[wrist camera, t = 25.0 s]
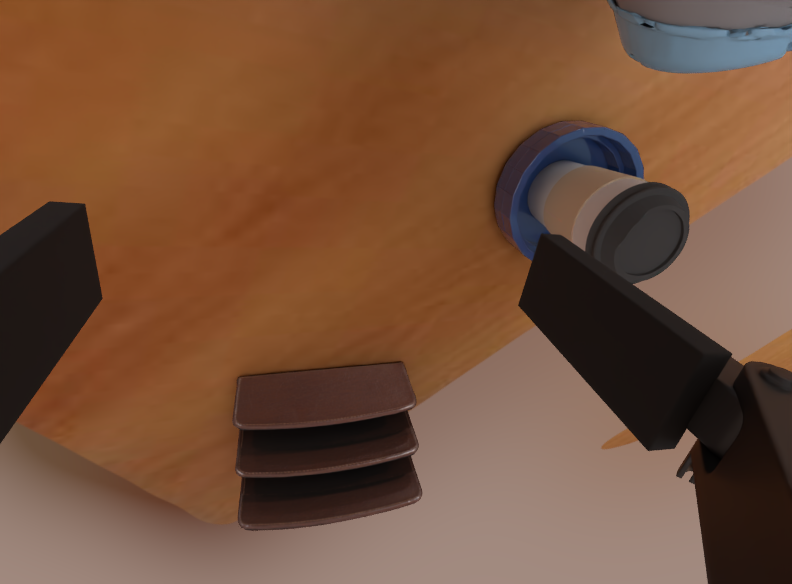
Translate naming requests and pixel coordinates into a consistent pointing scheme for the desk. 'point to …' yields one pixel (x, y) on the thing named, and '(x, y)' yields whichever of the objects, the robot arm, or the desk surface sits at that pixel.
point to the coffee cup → (612, 216)
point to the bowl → (544, 149)
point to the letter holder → (324, 446)
